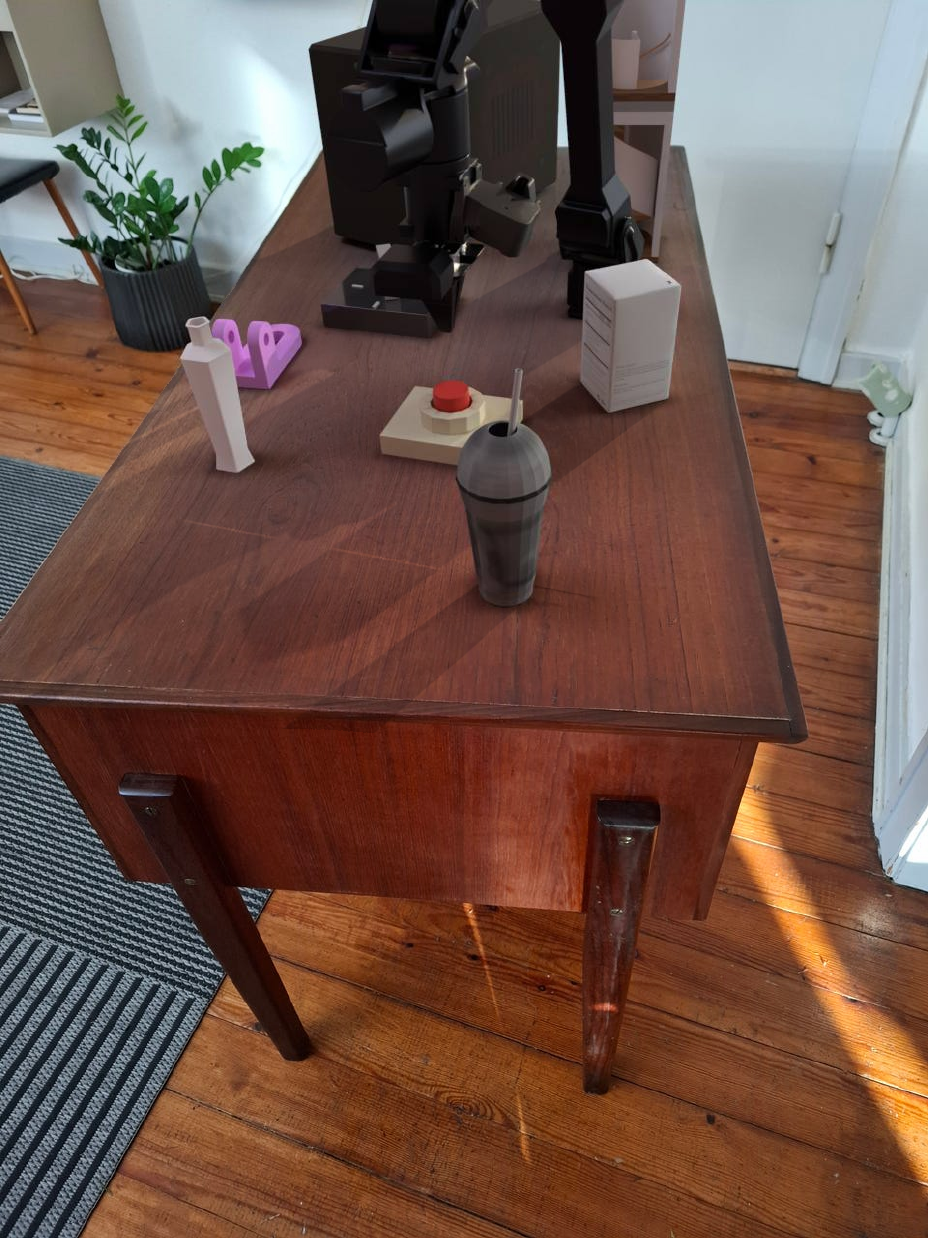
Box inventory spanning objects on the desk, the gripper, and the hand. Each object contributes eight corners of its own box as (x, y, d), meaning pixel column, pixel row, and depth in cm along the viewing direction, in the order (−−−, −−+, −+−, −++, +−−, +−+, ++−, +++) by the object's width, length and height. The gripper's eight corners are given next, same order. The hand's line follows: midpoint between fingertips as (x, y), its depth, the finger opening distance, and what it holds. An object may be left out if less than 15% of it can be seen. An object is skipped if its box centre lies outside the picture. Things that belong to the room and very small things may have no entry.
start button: (474, 398, 90) (473, 382, 89) (462, 416, 88) (462, 401, 87) (440, 393, 91) (439, 378, 90) (428, 411, 89) (427, 396, 88)
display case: (581, 237, 128) (595, -69, 104) (657, 238, 126) (689, -72, 102) (576, 270, 120) (590, -53, 96) (656, 272, 118) (691, -56, 94)
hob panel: (458, 299, 115) (456, 275, 113) (428, 338, 108) (426, 313, 106) (359, 289, 119) (356, 265, 117) (324, 326, 112) (319, 302, 109)
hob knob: (379, 280, 113) (375, 242, 110) (393, 278, 113) (389, 241, 110) (385, 300, 109) (381, 262, 106) (400, 298, 109) (396, 260, 106)
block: (522, 418, 94) (522, 384, 91) (494, 471, 87) (493, 436, 84) (416, 403, 97) (413, 370, 94) (381, 453, 90) (377, 419, 88)
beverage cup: (459, 564, 77) (445, 350, 64) (542, 556, 78) (546, 342, 64) (466, 622, 72) (452, 403, 58) (556, 613, 72) (563, 393, 59)
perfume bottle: (266, 452, 92) (232, 312, 81) (245, 476, 89) (207, 334, 78) (227, 446, 93) (189, 307, 82) (205, 469, 90) (163, 329, 79)
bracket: (269, 389, 101) (256, 331, 96) (223, 385, 102) (208, 328, 97) (308, 335, 110) (298, 280, 105) (266, 333, 111) (254, 277, 106)
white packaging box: (638, 368, 100) (649, 256, 91) (669, 400, 95) (684, 284, 86) (577, 382, 99) (582, 269, 90) (606, 414, 94) (614, 298, 85)
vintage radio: (467, 164, 153) (460, -12, 136) (564, 183, 144) (570, -3, 127) (319, 239, 132) (288, 42, 115) (422, 266, 123) (406, 57, 106)
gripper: (495, 199, 65) (499, 390, 76) (559, 123, 78) (554, 296, 88) (356, 189, 68) (379, 375, 79) (438, 117, 80) (449, 286, 91)
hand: (447, 330), depth 84 cm, fingers closed
